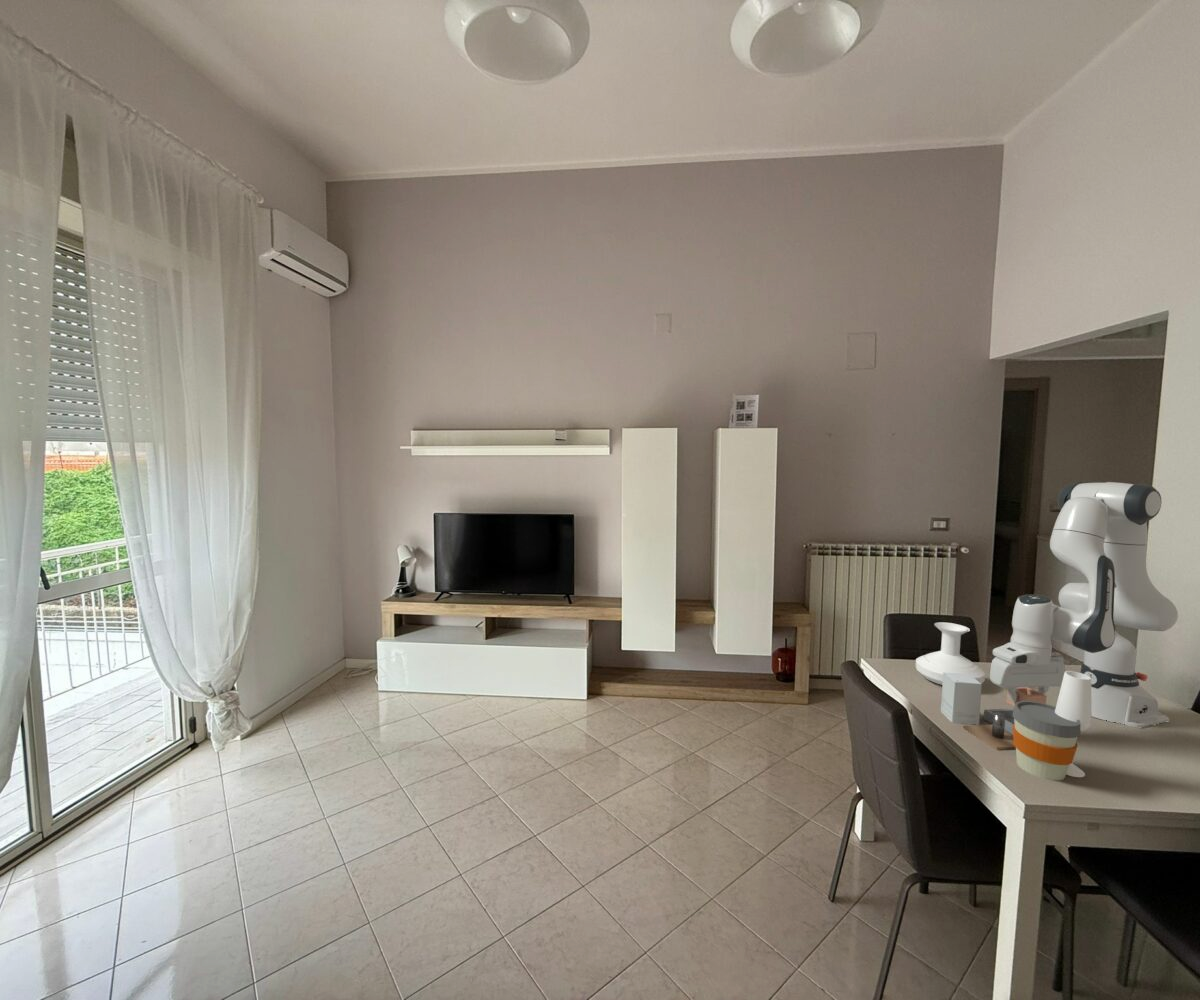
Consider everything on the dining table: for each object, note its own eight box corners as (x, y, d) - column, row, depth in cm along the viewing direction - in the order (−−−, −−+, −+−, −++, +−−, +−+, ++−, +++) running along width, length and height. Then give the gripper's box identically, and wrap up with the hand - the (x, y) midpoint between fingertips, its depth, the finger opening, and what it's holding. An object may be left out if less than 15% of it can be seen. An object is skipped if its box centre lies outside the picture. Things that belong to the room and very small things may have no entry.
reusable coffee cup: (1086, 792, 118) (1094, 731, 116) (1020, 780, 122) (1027, 720, 120) (1058, 762, 129) (1064, 705, 128) (999, 751, 134) (1004, 696, 132)
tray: (1020, 717, 152) (1021, 708, 152) (1060, 739, 140) (1061, 729, 140) (983, 719, 151) (984, 709, 151) (1020, 741, 139) (1021, 731, 139)
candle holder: (986, 679, 179) (990, 626, 177) (981, 699, 164) (985, 641, 162) (919, 664, 192) (922, 614, 190) (909, 681, 176) (913, 627, 175)
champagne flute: (1080, 766, 127) (1091, 673, 124) (1089, 780, 121) (1101, 684, 119) (1045, 757, 130) (1055, 667, 128) (1052, 771, 124) (1063, 677, 122)
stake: (997, 733, 141) (999, 712, 140) (1006, 738, 138) (1008, 716, 138) (989, 733, 140) (990, 712, 140) (997, 739, 138) (999, 717, 137)
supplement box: (979, 726, 147) (983, 684, 146) (951, 723, 148) (954, 681, 147) (967, 714, 154) (969, 673, 153) (939, 711, 155) (942, 671, 154)
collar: (1019, 698, 149) (1020, 683, 149) (1045, 711, 141) (1046, 696, 141) (1000, 699, 149) (1001, 684, 148) (1025, 712, 141) (1026, 696, 140)
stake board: (995, 728, 146) (995, 724, 146) (1031, 750, 135) (1031, 745, 135) (962, 729, 145) (963, 725, 145) (996, 751, 134) (996, 747, 134)
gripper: (1052, 648, 147) (1048, 694, 148) (987, 649, 145) (983, 696, 146) (1074, 656, 141) (1070, 704, 142) (1007, 658, 139) (1003, 706, 140)
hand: (1025, 700), depth 144 cm, fingers closed on collar, 6 cm apart
